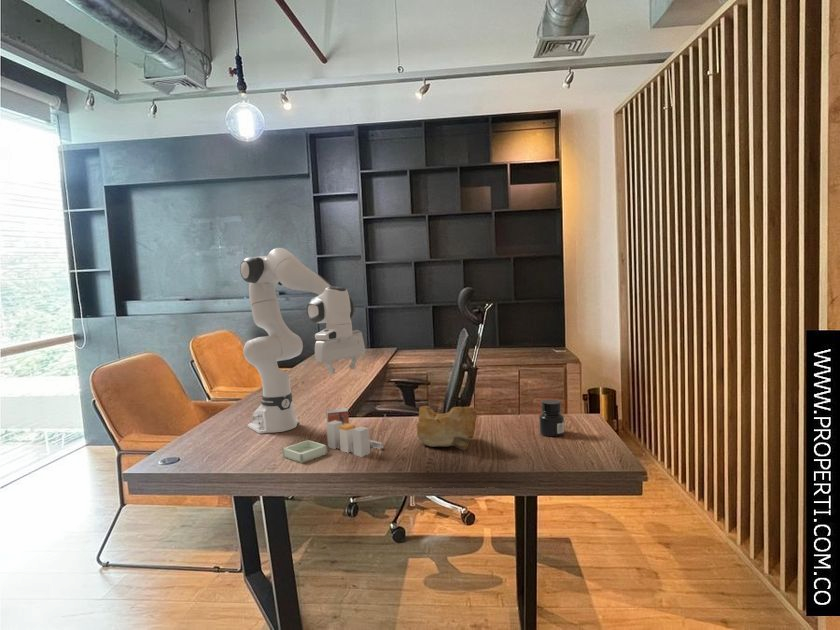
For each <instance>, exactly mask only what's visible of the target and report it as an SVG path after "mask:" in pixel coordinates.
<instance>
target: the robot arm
mask: <svg viewBox="0 0 840 630" xmlns="http://www.w3.org/2000/svg"><path fill="white" fill-rule="evenodd" d="M239 268H240V269H239V272H240V275H241V278H242V279H243V280H244V281H245V282H247V283H249V285H248V295H249V297H248V299H249V304H250V309H251V314H252V318H253V322H254V324H255V326H257V327H258V328H261V329H263V330H265V332H266V333H267V334H268V335H266V336H258V337H255V338H251V339H248V340H247V341H246V342H245V344H244V345H243V349H242V354H243V357H244V359H245V361H247V363H248V364H250V365H252V366H253V367H254V369H256V370H257V371H258V374H259V375H260V380H261V385H262V395H260V400H261V401H260V405H259V406H258V407H257V408H256V410H254V411H253V413H252V422H250V423H248V424H247V427H248V428H249V429H250V430H252V431H254V432H256V433H257V434H270V433H282V432H287V431H290V430H293V429H295V428H296V427H297V426H298V425H299V423H300V422H299V419H297V414H296V408H295V404H294V403H293V393H292V391H291V378H290V375H289V373H288V372H287V371H285V370H283V369H280V368H279V364H278V362H280V361H287V360H291V359H293V358H295V357H298V356H300V355H301V354H302V352H303V348H304V345H303V344H304V343H303V339H302V338H301V337H300V336H299V335H298V334H297V333H294V332H293V331H292V330H291V329H290V328H289V327H288V325H287V324H286V323H285V321H284V319H283V317H282V313H281V309H280V308H281V307H280V305H279V300H278V296H277V293H276V287H277V285H279V286H283V287H285V288H287V289H289V290H294V291H303V292H311V293H314V294H317V296H315V297H312V298H311V299H310V300H309V301H308V303H307V306H306V314H307V317H308V319H309V320H310V321H311V322H312V323H315V324H326V327H325V328H323V329H322V330H320V331H319V332H317V333H314V339H315V340H316V341H315V344H314V359H315V360H316V362H318V363H324V364H325V366H326V367H327V370H328V374H329V375H333V374H335V373H336V368H334V367H333V361H338V360H343V359H349V358H350V360H351V361H350V363H349V365H348V367H349V370H355V369H356V366H357V365H356V364H357V361H358V356H359V357H360V356H363V355H364V354H365V353H366V346H365V341H364V337H363V332H362V331H361V330H359V329H355V330H353V325H352V320H351V319H352V317H353V316H354V314H355V311H356V305H355V302H354V300H353V299H352V297H351V296H350V295H349V291H348V289H347V288H346V287H343V286H340V285H338V286H337V285H334V286H333V285H332V283H330V282H329V281H328V280H326V278H324V277H323V276H321V275H320V274H318V273H317V272H315V271H313V270H311V269H310V268H309V267H307V265H304V264H303V263H302V262H301V261H300V260H299V259H298V258H297V257H296V255H294V254H293V253H292V252H290V251H289V250H287V249H286V248H284V247H276V248H273V249H272V250H270V251H269V253H268V254H267V255H259V256H253V255H252V256H249V257H246V258H244V259H243V260H242V261H241V263H240V267H239Z"/></svg>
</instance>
